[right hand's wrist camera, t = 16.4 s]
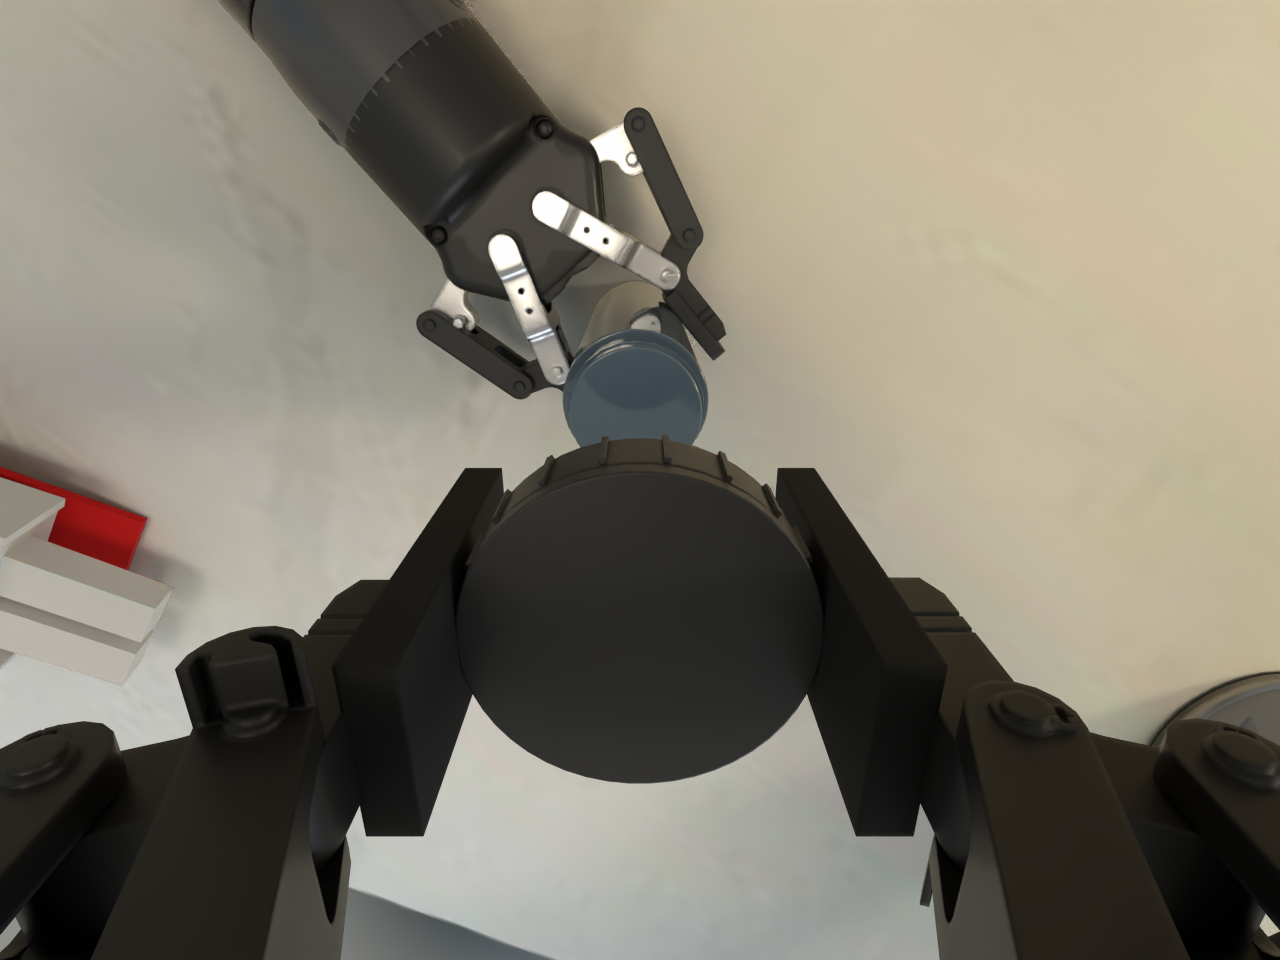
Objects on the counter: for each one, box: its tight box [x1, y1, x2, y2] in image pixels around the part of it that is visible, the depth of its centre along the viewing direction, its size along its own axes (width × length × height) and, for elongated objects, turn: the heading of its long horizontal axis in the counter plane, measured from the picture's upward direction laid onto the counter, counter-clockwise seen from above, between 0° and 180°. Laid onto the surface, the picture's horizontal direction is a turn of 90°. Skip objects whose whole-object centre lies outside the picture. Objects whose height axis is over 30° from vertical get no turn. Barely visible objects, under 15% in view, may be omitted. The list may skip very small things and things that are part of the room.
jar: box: [563, 281, 708, 447], centre depth 30 cm, size 5×5×17 cm
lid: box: [455, 435, 824, 783], centre depth 11 cm, size 6×6×2 cm
